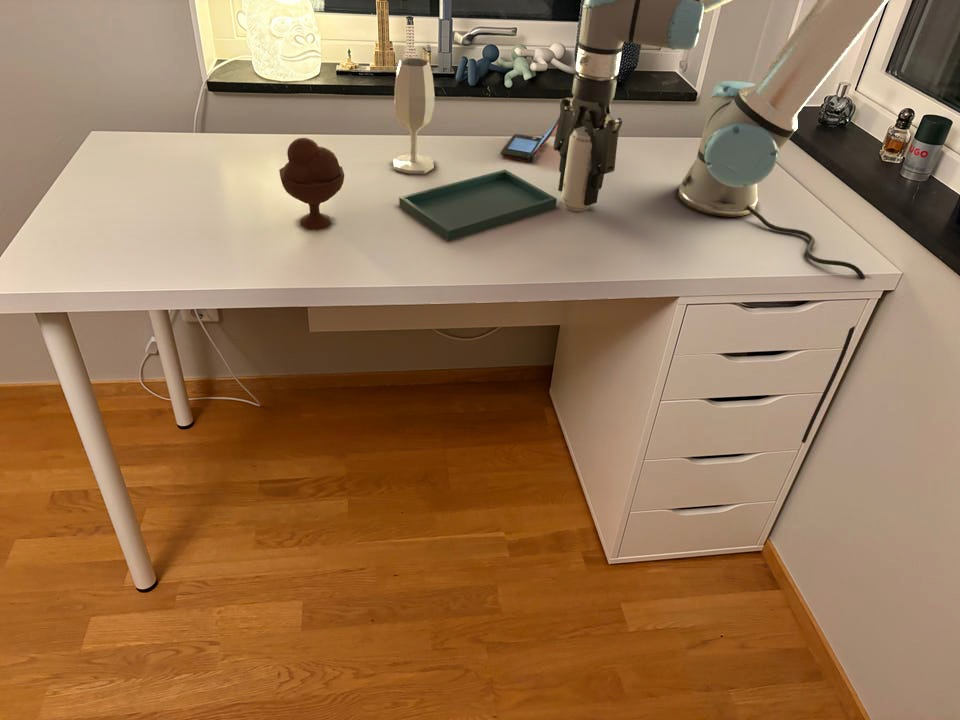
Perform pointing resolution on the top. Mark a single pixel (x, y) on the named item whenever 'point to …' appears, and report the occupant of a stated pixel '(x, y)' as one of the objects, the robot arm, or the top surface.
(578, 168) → the energy drink can
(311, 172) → the ice cream bowl
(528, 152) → the handheld console
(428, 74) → the wineglass
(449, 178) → the top surface
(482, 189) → the tray
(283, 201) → the top surface
